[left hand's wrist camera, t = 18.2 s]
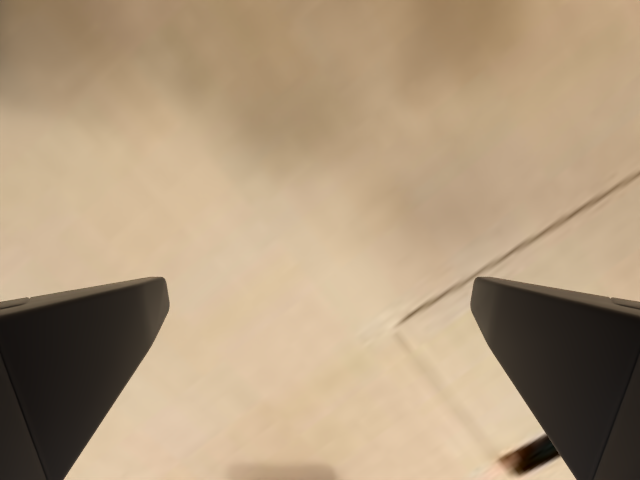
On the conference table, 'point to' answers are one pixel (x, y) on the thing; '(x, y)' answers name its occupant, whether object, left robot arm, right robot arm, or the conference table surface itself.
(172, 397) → the conference table surface
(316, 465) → the conference table surface
